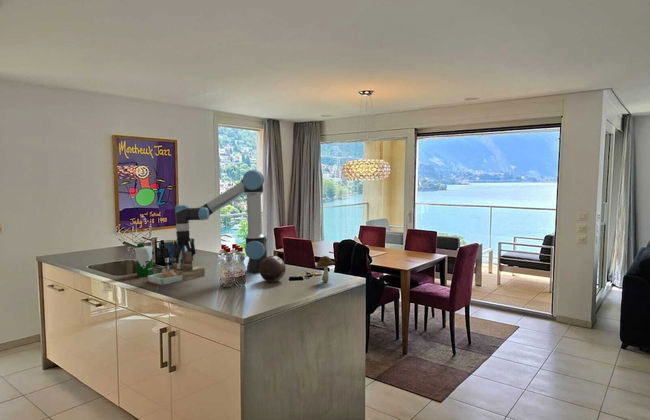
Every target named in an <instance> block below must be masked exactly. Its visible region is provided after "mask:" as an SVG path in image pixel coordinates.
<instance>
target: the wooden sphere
mask: <svg viewBox="0 0 650 420" xmlns="http://www.w3.org/2000/svg"><path fill="white" fill-rule="evenodd" d="M286 268H287V267H286V263H285V262H284V260H283V259H282V258H280V257H279V256H277V255H269V256H267V257H266V258H265V259H264V260H263V261H262V262H261V264H260V267H259V271H260V272H259V275H260V276H261V277H262V279H263V280H265V282H268V283H275V282H279V281H280V280H282V278H283V277H284V276H285V274H286Z"/></svg>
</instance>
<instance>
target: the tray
mask: <svg viewBox="0 0 650 420" xmlns="http://www.w3.org/2000/svg"><path fill="white" fill-rule="evenodd" d="M168 272H169V271H167V273H168ZM147 282H148V283H152V284H155V285H158V286H162V287H163V286H166V285H172V284H176V283H180V282H184V281H183V280H182V275H179V276H174V277H169V278H164V279H163V274H162V272H160V273H155V274H154V273H153V274H152V275H148V276H147Z"/></svg>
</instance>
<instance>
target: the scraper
mask: <svg viewBox="0 0 650 420" xmlns="http://www.w3.org/2000/svg"><path fill="white" fill-rule="evenodd" d="M171 266H172V268H171V269H173V268H174V269H177V263H171ZM193 266H194V265H193V261H192V252H189V251H188V250H187V251H184V252H182V263H181V269H179V270H184V271H190V270H193Z"/></svg>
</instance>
